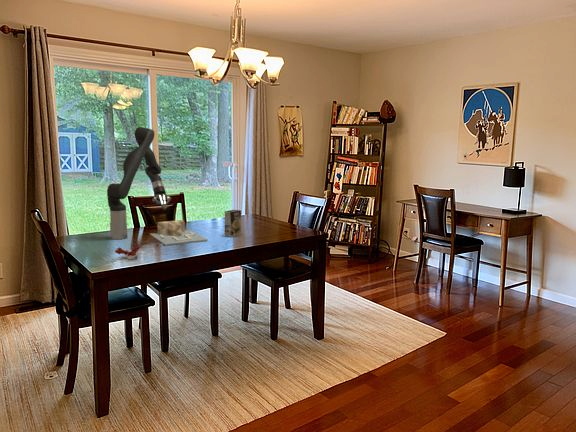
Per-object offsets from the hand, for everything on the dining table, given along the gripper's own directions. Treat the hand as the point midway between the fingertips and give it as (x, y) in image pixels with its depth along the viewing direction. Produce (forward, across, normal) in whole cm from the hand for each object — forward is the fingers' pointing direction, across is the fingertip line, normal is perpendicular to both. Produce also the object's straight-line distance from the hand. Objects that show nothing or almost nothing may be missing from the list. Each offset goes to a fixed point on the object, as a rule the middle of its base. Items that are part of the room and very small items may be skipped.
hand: (164, 209), depth 297 cm
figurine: (+51, -36, -31) cm, 70 cm away
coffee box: (+35, +33, -14) cm, 50 cm away
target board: (+28, 0, -8) cm, 29 cm away
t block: (+22, 0, -3) cm, 22 cm away
